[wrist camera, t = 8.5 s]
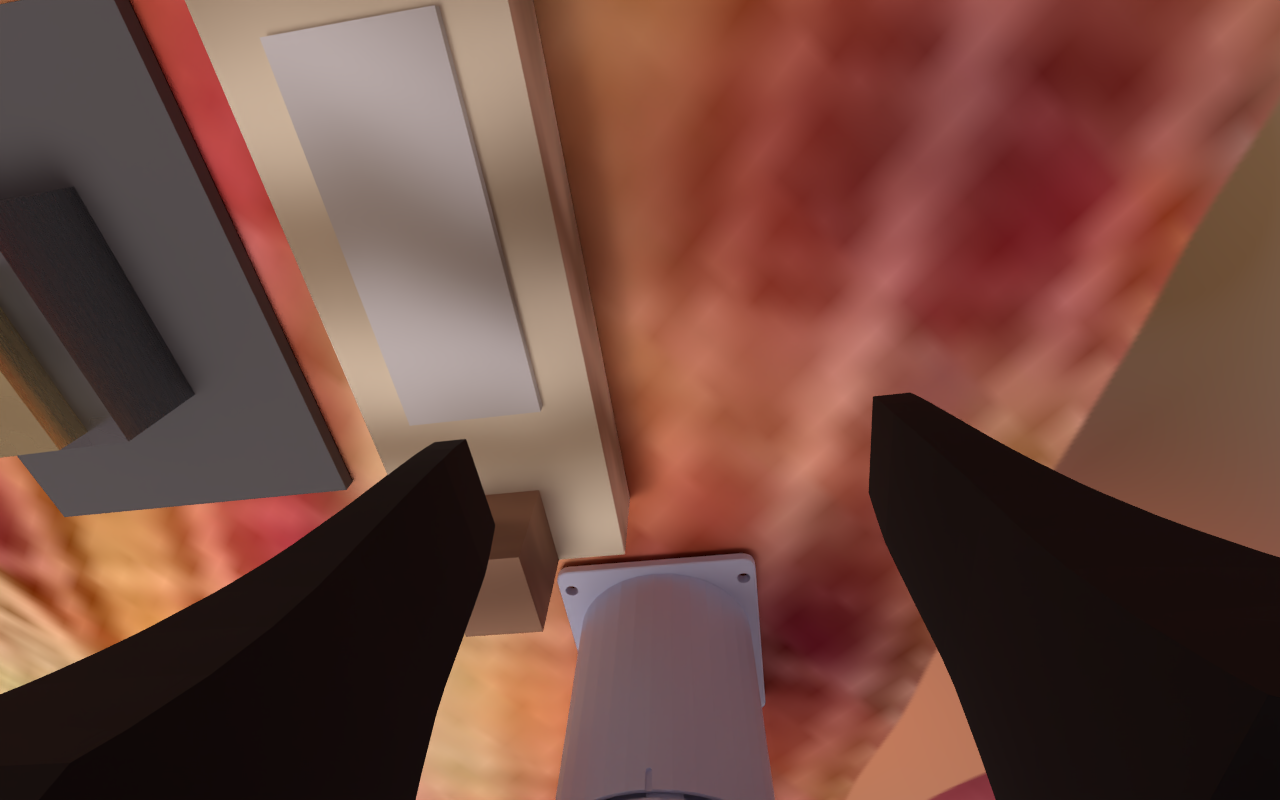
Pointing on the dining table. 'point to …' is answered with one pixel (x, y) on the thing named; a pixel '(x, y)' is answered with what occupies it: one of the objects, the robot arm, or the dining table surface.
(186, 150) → the rubber mat
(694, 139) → the dining table surface
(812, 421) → the dining table surface
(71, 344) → the lever cap
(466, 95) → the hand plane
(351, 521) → the robot arm
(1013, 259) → the dining table surface
